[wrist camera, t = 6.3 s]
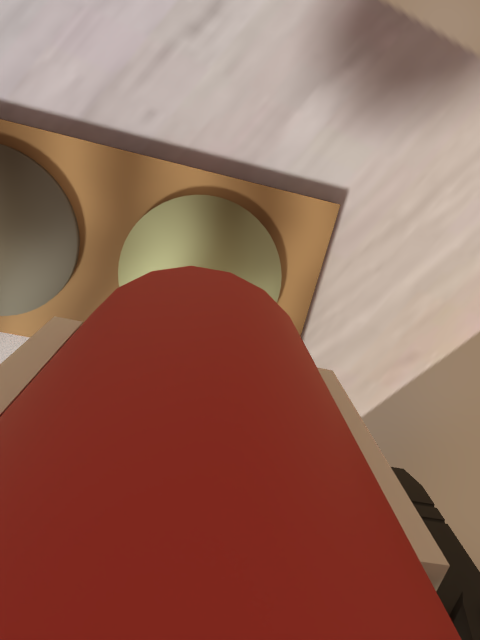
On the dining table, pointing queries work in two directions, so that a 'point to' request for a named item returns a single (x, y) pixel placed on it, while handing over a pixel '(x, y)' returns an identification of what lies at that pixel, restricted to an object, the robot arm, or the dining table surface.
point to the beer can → (196, 484)
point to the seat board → (139, 228)
